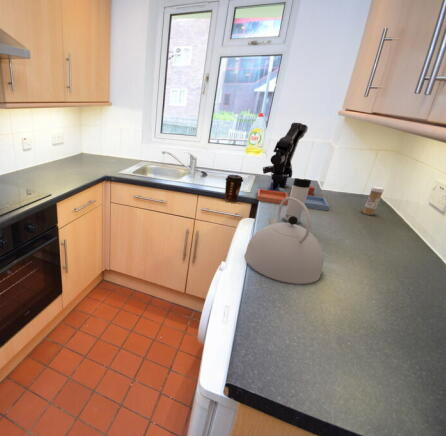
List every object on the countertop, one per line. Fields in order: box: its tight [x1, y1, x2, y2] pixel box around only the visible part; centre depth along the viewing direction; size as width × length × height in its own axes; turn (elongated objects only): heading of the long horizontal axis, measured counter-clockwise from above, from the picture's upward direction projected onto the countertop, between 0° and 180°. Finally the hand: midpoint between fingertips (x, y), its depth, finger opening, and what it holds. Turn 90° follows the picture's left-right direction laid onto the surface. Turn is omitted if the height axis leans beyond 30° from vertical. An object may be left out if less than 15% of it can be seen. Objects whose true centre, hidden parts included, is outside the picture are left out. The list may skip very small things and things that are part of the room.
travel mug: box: [283, 177, 312, 225], centre depth 130 cm, size 6×7×20 cm
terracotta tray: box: [256, 188, 289, 206], centre depth 162 cm, size 15×15×2 cm
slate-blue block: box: [269, 180, 280, 192], centre depth 176 cm, size 4×4×4 cm
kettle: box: [244, 196, 325, 285], centre depth 96 cm, size 25×23×22 cm
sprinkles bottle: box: [362, 185, 385, 216], centre depth 142 cm, size 5×5×14 cm
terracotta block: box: [307, 185, 316, 196], centre depth 171 cm, size 4×4×4 cm
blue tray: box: [304, 195, 330, 211], centre depth 156 cm, size 15×15×2 cm
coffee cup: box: [224, 174, 244, 203], centre depth 156 cm, size 9×8×13 cm
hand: (274, 188), depth 177 cm, fingers closed on slate-blue block, 4 cm apart
